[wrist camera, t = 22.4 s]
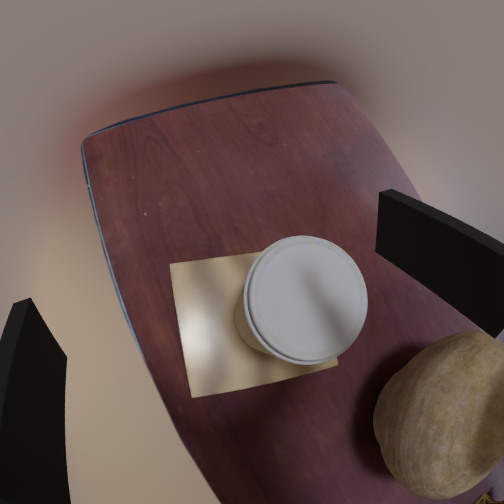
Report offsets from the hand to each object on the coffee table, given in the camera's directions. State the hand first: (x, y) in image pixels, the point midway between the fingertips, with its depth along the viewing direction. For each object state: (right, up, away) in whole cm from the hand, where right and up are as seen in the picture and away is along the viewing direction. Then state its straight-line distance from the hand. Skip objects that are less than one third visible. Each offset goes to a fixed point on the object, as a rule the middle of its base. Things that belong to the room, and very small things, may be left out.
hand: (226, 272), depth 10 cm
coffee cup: (+3, -6, +22) cm, 23 cm away
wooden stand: (0, -9, +29) cm, 30 cm away
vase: (+25, -24, +29) cm, 45 cm away
